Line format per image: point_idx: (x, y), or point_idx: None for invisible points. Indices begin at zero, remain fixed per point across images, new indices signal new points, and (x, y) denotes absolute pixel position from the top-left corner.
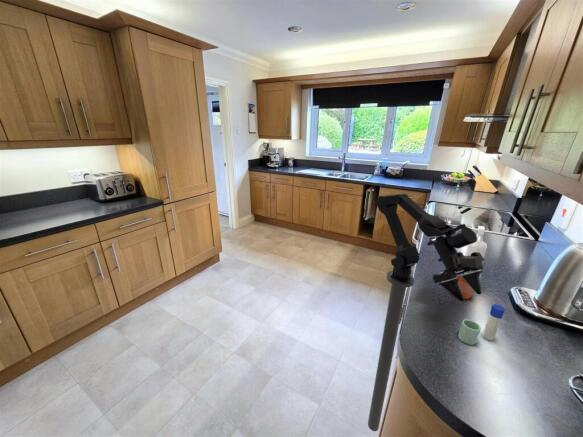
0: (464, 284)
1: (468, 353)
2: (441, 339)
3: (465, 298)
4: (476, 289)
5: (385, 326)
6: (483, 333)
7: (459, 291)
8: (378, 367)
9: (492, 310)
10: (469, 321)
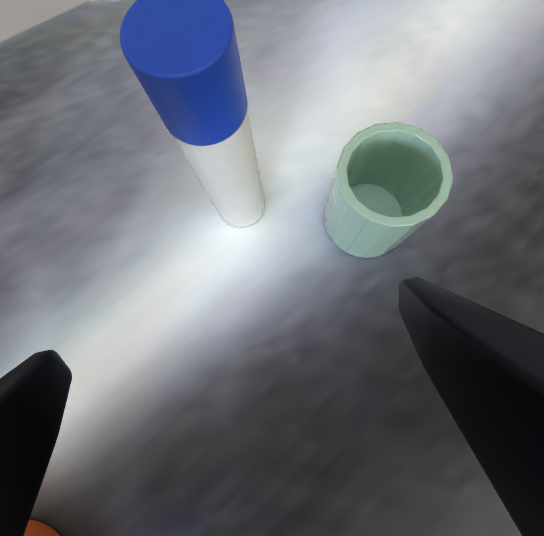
0: None
1: None
2: (513, 244)
3: (40, 525)
4: (30, 420)
5: None
6: (259, 211)
7: (530, 343)
8: None
9: (239, 76)
10: (367, 211)
